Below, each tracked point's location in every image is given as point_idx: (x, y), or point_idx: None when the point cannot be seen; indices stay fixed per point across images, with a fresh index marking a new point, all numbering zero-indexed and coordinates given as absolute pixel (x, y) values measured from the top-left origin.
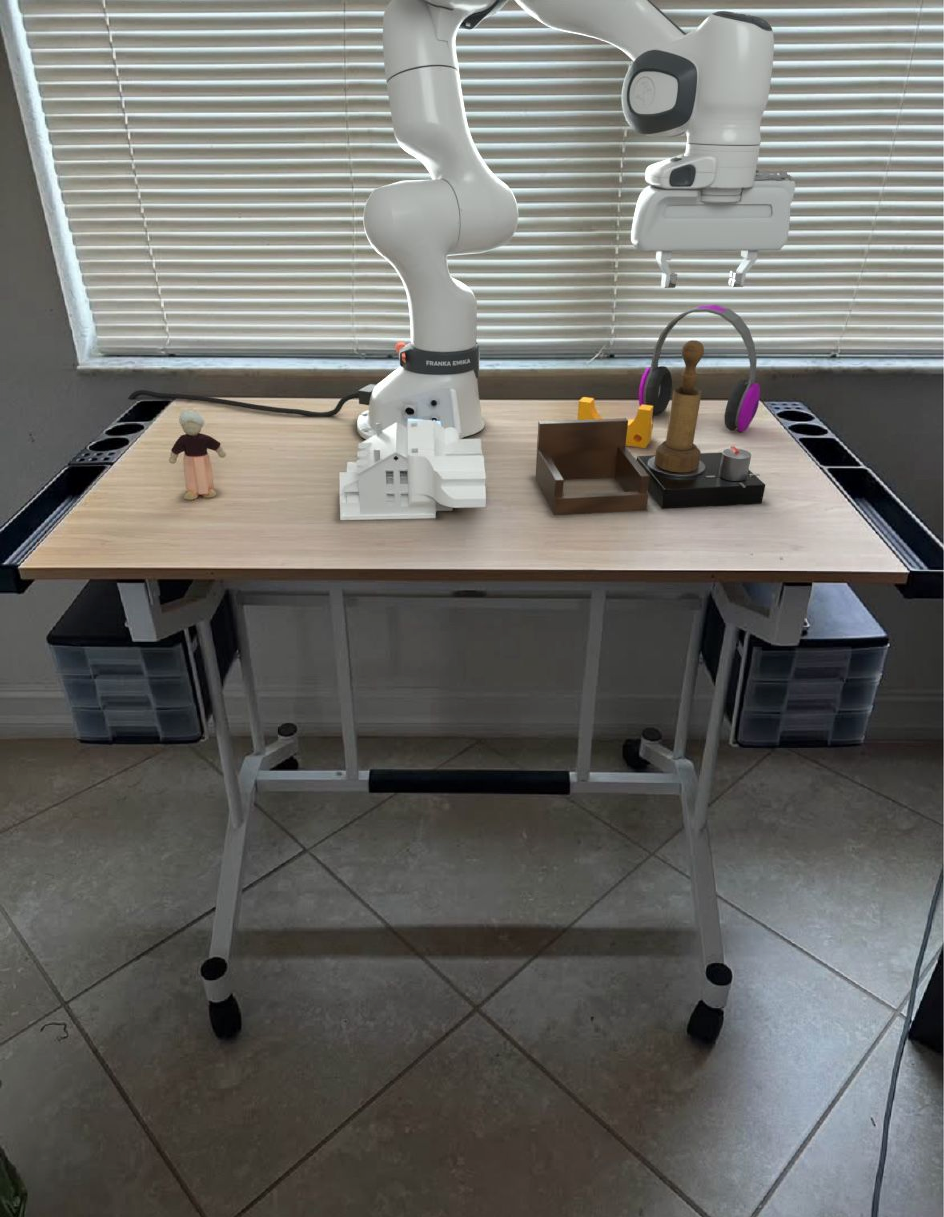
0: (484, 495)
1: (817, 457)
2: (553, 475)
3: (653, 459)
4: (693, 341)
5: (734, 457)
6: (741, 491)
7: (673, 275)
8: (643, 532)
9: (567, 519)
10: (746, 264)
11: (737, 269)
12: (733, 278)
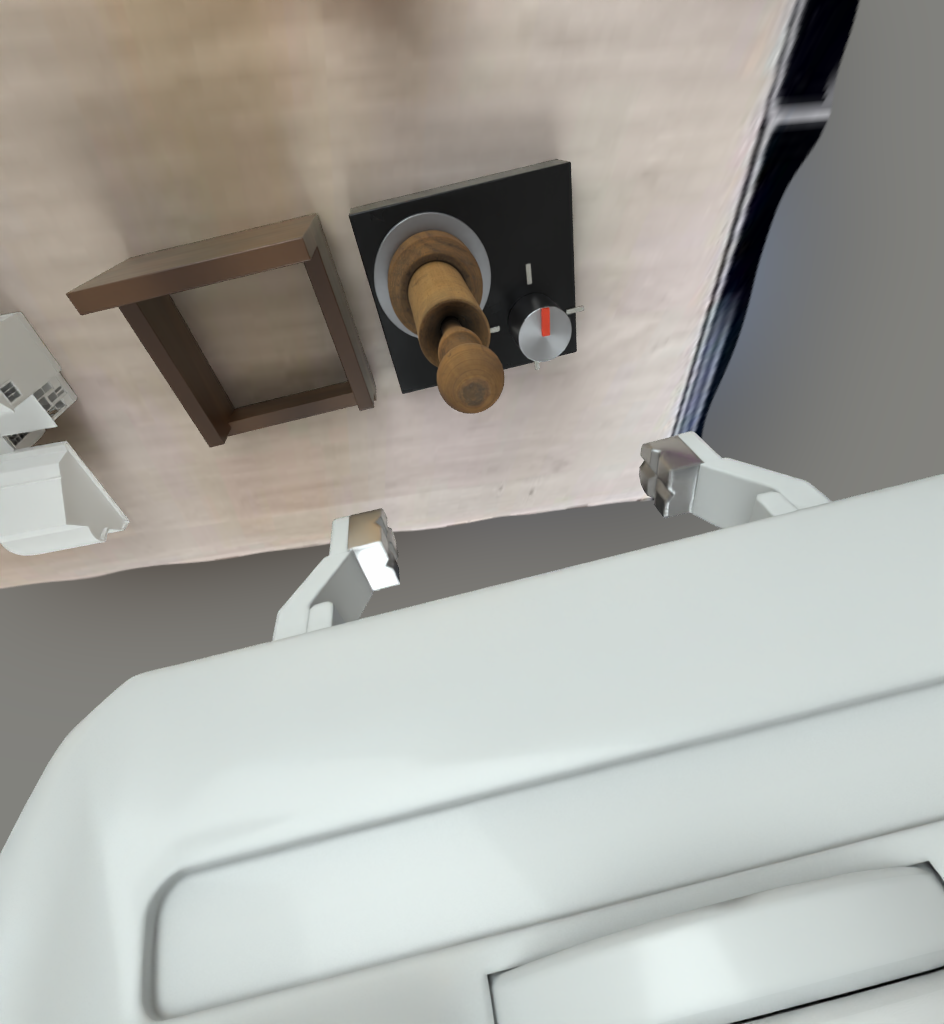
0: (118, 530)
1: (804, 32)
2: (199, 429)
3: (386, 256)
4: (473, 394)
5: (533, 358)
6: None
7: (382, 586)
8: (371, 456)
9: (253, 433)
10: (733, 525)
11: (705, 473)
12: (656, 490)
